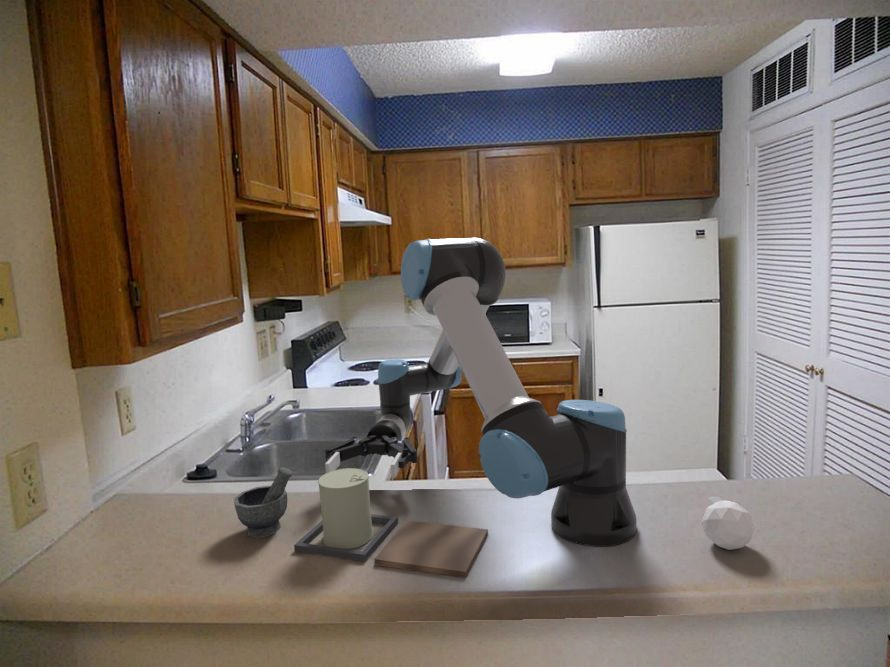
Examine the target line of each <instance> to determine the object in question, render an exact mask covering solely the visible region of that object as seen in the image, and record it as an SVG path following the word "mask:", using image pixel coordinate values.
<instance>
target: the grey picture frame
mask: <svg viewBox="0 0 890 667" xmlns="http://www.w3.org/2000/svg"><path fill="white" fill-rule="evenodd" d="M371 521H372V524H373V523H374V524H382V525H384V526H383V527H382V528H381V530H380V531H378V533H377V534H376V535H375V536H374V537H372V540H370V542H369V543H368V544H367V545H366V546H365V548H364V549H363V550H356V549H343V548H336V547H328V546H326V545H320V544H319V545H318V544H314V543H311V542H313V540H315V538H317V537H318V535H320V534H321V533H323V522H322V520H320V521H319V522H318V523H317V524H316V525H315V526H314V527H312V528H311V529H310V530H309V531H308V532H306V534H305V535H304V536H302V537H301V538H300V539H299V540H298V541H297V542H296V543H295V544H293V548H294V549H293V550H294V552H297V553H301V554H302V553H304V554H310V555H317V556H325V557H330V558H331V557H332V558H338V559H346V560H352V561H353V560H354V561H358V562H359V561H360V562H366V561H367V560H368V559H369V558H370V557H371V556H372V555H373V553H374V552H375V551H376V550H377V548H378V547H379V546H380V545H381V544H382V543H383V542H384V540H385V539H386V538H387V537H388V536H389V534H391V532H392V531H393V530H394V528H396V526H397V525H398V523H399V518H398V516H392V515H382V514H373V513H371Z"/></svg>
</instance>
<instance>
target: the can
mask: <svg viewBox="0 0 890 667" xmlns="http://www.w3.org/2000/svg"><path fill="white" fill-rule="evenodd" d="M369 477H370V476H369V473H368V472H367V471H366V470H365V469H364V470H363V469H360V468H354V467H353V468H352V467H351V468H350V467H349V468H347V467H345V468H340V469H336V470H334V471H331V472H328V473H326V472H325V473H324V474H323V475H321V476H320V477H319V478H318V481H317V482H318V490H319V491H318V492H319V497H320V510H321V521H322V522H323V531H322V533H323V536H322V542H323V544H324V546H328V547H336V548H343V549H350V550H352V549H355V548H358V547H362V546H364V545H366V544H367V543H368V542H369V541H371V539H373V538H374V537H373V536H374V530H373V523H372V521H371V514H372V513H371V512H372V510H371V499H370V498H371V497H370V483H369V481H370V480H369Z"/></svg>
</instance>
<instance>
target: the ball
mask: <svg viewBox="0 0 890 667" xmlns="http://www.w3.org/2000/svg"><path fill="white" fill-rule="evenodd" d="M701 525H702V527H703V531H704V533H705V536H706V537H707V539H709V540H710V541H711V542H712V543H714V544H715V545H716V546H717V547H719V548H722V549H725V550H727V551H728V550H729V551H730V550H737V549H741V548H743V547H745V546H746V545H747V544H749V543H750V542H751V540H752V539H753V536H754V532H755V529H756V526H755V524H754V521H753V519H752V516H751V514H750V511H748V510H747V509H745V508H744V507H742V506H741V505H740V504H738V503H737V502H734V501H729V500H723V501H719V502H716V503H714V504H713V503H712V504H710V505H709V506H708V507H706V508H705V511H704V514H703V517H702V519H701Z"/></svg>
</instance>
